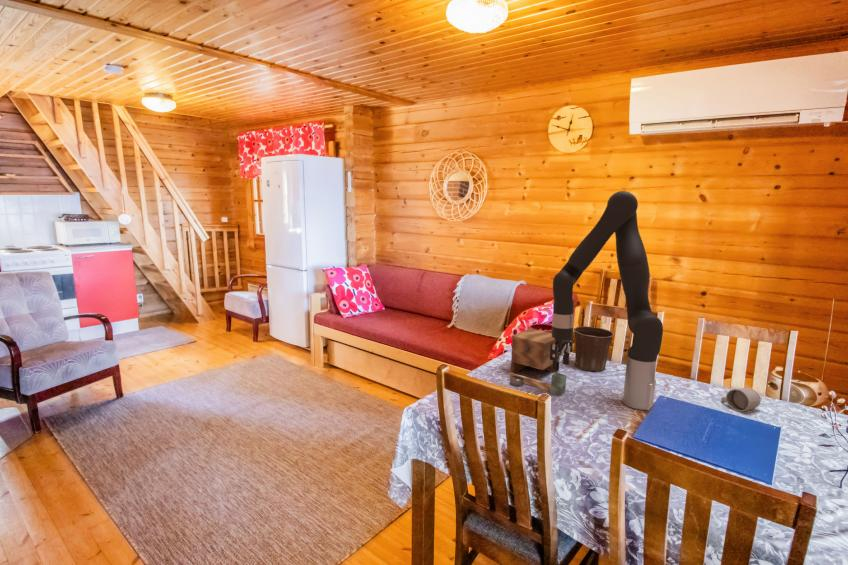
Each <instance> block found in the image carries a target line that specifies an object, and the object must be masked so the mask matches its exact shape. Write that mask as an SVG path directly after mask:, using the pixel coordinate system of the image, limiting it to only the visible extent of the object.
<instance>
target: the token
mask: <svg viewBox="0 0 848 565" xmlns="http://www.w3.org/2000/svg"><path fill="white" fill-rule="evenodd" d="M509 384H510V386H512V387H519V388H521V387H523V386H524V383H523V378H522V377H520V376H512V377H510V376H509Z"/></svg>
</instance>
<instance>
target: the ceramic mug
mask: <svg viewBox="0 0 848 565" xmlns="http://www.w3.org/2000/svg"><path fill="white" fill-rule="evenodd" d="M720 399H721V402H722V403H726V404H727V406H728V407H730V409H731V410H734V411H736V412H739V413H741V412H746V411H750V410H753V409H755V408H757V407H759V405H760V404H761V402H762V401H761V400H762V398H761V396H760V394H759V393H758V391H756V390H755V389H753V388H750V387H739V388H732V389H730V390H728V392H727V393H726V395H725V396H723V397H721V398H720Z"/></svg>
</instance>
